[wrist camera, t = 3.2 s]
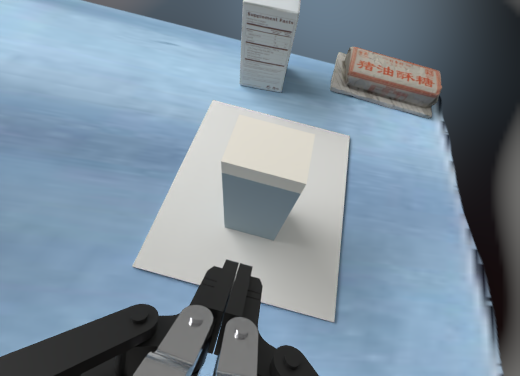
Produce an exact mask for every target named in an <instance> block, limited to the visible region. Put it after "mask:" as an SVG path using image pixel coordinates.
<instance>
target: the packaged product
mask: <svg viewBox="0 0 520 376" xmlns="http://www.w3.org/2000/svg"><path fill="white" fill-rule="evenodd" d="M441 89H442V86H441V76H440V72H439V71H437V70H433V69H430V68H428V67H423V66H420V65H417V64H414V63H411V62H406V61H403V60H400V59H396V58H393V57H388V56H386V55H382V54H378V53H375V52H372V51H368V50H364V49H361V48H358V47H351V48H349V50H348V53H347V54H344V53H341V52H339V53H338V56H337V59H336V63H335V68H334V72H333V75H332V79H331V85H330V90H331V91H334V92H337V93H341V94H346V95H351V96H354V97H356V98H359V99H362V100H365V101H369V102H372V103H375V104H378V105H381V106H384V107H388V108H391V109H396V110H400V111H403V112H408V113H412V114H415V115H418V116H421V117H424V118H428V119H429V118H431V117H432V112H431V106H432V105H434V104H435V103H436V102H437V101H438V97H439V94H440V92H441Z"/></svg>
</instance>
